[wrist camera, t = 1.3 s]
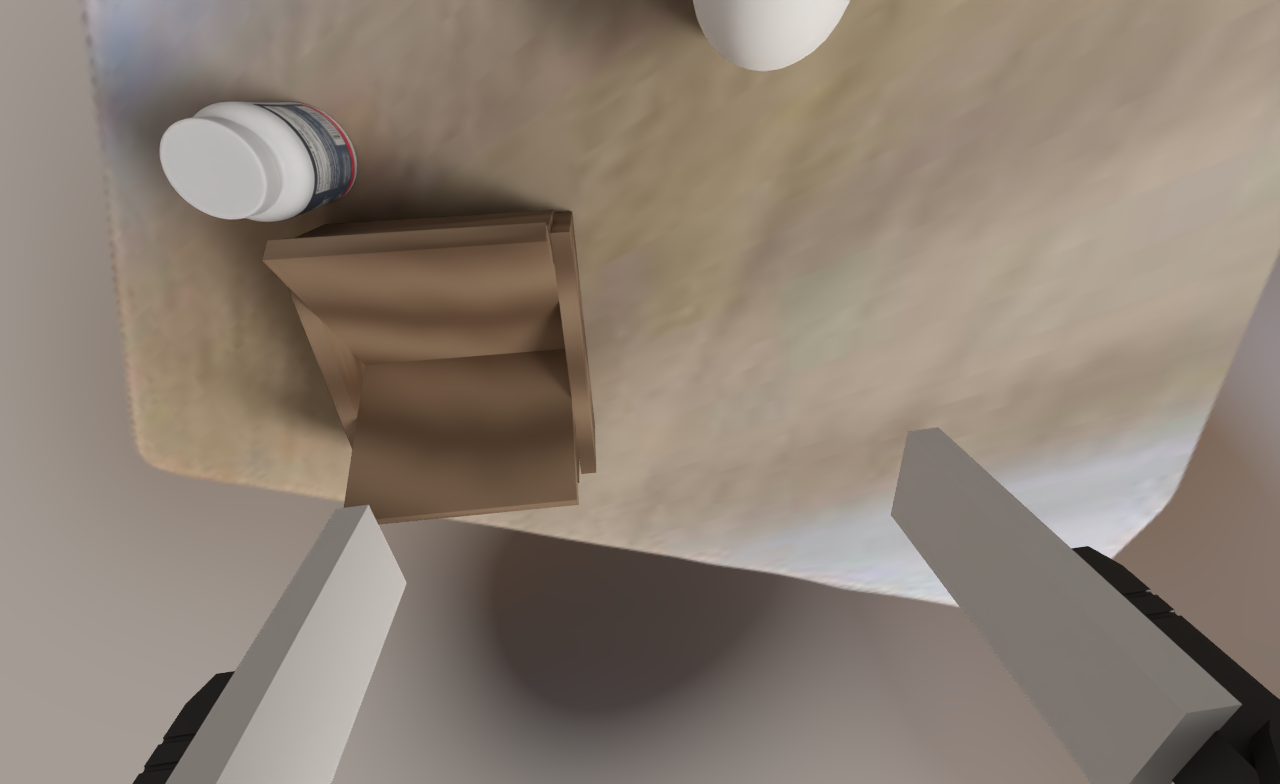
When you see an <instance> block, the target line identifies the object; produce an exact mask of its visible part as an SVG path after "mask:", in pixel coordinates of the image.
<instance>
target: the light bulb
mask: <svg viewBox="0 0 1280 784" xmlns="http://www.w3.org/2000/svg"><path fill="white" fill-rule="evenodd" d="M849 2H850V0H693V4H694V8H695V12H696V17H697V20H698V22H699V24H700V27H701V29H702V32H703V34H704V35H705V37H706V38H707V40H708V41H709V43H710V44H711V46H712V47H713V48H714V49H715V50H716V51H717V52H718V53H719V54H720V55H721V56H722V57H723V58H724V59H726V60H728V61H729V62H731V63H732V64H734V65H736V66H739V67H742V68H745V69H749V70H757V71H770V70H776V69H781V68H784V67H786V66H789V65H791V64H794V63H796V62H798V61H799V60H801V59H803V58H804V57H806V56H807V55H809V54H810V53H812V52H813V51H814V50H815V49H816V48H817V47H818V46H820V45H821V44H822V43H823V42H824V41H825V40H826V39H827V37H828V36H829V35H830V33H831V32H832V31H833V29H834V28H835V27H836V25H837V24H838V22H839V21H840V19H841V17H842V15H843V13H844V11H845V10H846V8H847V6H848V4H849Z"/></svg>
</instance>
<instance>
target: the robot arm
mask: <svg viewBox="0 0 1280 784" xmlns="http://www.w3.org/2000/svg"><path fill="white" fill-rule="evenodd" d="M891 516H892V517H893V518H894V520H895V521H896V522H897V524H898V525H899V526H900V528H901V529H902V530H903V532H904V533H905V534H906V536H907V537H908V538H909V540H910V541H911V542H912V544H913V545H914V546H915V548H916V549H917V550H918V552H919V553H920V554H921V556H922V557H923V558H924V560H925V561H926V562H927V564H928V565H929V566H930V568H931V569H932V570H933V572H934V573H935V574H936V576H937V577H938V578H939V580H940V581H941V582H942V584H943V585H944V587H945V588H946V589H947V591H948V592H949V593H950V595H951V596H952V597H953V599H954V600H955V601H956V603H957V604H958V605H959V607H960V608H961V609H962V610H963V612H964V613H965V615H966V616H967V617H968V619H969V620H970V621H971V623H972V624H973V625H974V627H975V628H976V629H977V631H978V632H979V633H980V635H981V636H982V637H983V639H984V640H985V641H986V643H987V644H988V645H989V647H990V648H991V649H992V651H993V652H994V653H995V655H996V656H997V658H998V659H999V660H1000V662H1001V663H1002V664H1003V665H1004V667H1005V668H1006V670H1007V671H1008V672H1009V674H1010V675H1011V676H1012V677H1013V679H1014V680H1015V682H1016V683H1017V684H1018V685H1019V687H1020V688H1021V690H1022V691H1023V692H1024V694H1026V696H1027V698H1028V699H1029V700H1030V702H1031V703H1032V704H1033V706H1034V707H1035V708H1036V710H1037V711H1038V712H1039V714H1040V715H1041V716H1042V718H1043V719H1044V720H1045V722H1046V723H1047V724H1048V726H1049V727H1050V728H1051V730H1052V731H1053V733H1054V734H1055V735H1056V737H1057V738H1058V739H1059V741H1060V742H1061V743H1062V745H1063V746H1064V747H1065V748H1066V750H1067V751H1068V753H1069V754H1070V755H1071V756H1072V758H1073V759H1074V761H1075V762H1076V763H1077V765H1078V766H1079V767H1080V769H1081V770H1082V771H1083V772H1084V774H1085V775H1086V777H1087V778H1088V779H1089V781H1090V782H1091V783H1092V784H1171V783H1172V782H1174V783H1175V784H1280V699H1278V698H1277V697H1276V696H1275V695H1273V694H1272V693H1271V692H1270V691H1269V690H1267V689H1266V688H1265V687H1264V686H1263V685H1262V684H1260V683H1259V682H1258V681H1257V680H1256V679H1255V678H1253V677H1252V676H1251V675H1250V674H1249V673H1248V672H1246V671H1245V670H1244V669H1243V668H1242V667H1240V666H1239V665H1238V664H1237V663H1236V662H1235V661H1233V660H1232V659H1231V658H1230V657H1229V656H1228V655H1227V654H1225V653H1224V652H1223V651H1222V650H1221V649H1220V648H1218V647H1217V646H1216V645H1215V644H1214V643H1213V642H1211V641H1210V640H1209V639H1208V638H1207V637H1205V636H1204V635H1203V634H1202V633H1201V632H1200V631H1198V630H1197V629H1196V628H1195V627H1194V626H1193V625H1191V624H1190V623H1189V622H1188V621H1186V619H1184V618H1183V617H1182V616H1178V615H1176V614H1175V610H1174V609H1173V608H1171V607H1170V606H1169V605H1168V604H1167V603H1166V602H1165V601H1163V600H1162V599H1161V598H1160V597H1159V596H1158V595H1153V594H1152V593H1151V589H1149V588H1148V587H1147V586H1146V585H1145V584H1143V583H1142V582H1141V581H1140V580H1139V579H1138V578H1137V577H1135V576H1134V575H1133V574H1132V573H1131V572H1130V571H1128V570H1127V569H1126V568H1125V567H1124V566H1122V565H1121V564H1119V563H1117V562H1115V561H1114V560H1112V559H1110V558H1108V557H1107V556H1105V555H1103V554H1101V553H1099V552H1098V551H1096V550H1094V549H1092V548H1090V547H1089V546H1086V547H1079V548H1072V549H1071V548H1070V547H1069V546H1068V545H1067V544H1066V543H1064V542H1063V541H1062V540H1061V539H1060V538H1059V537H1058V536H1057V535H1056V534H1055V533H1054V532H1052V531H1051V530H1050V529H1049V528H1048V527H1047V526H1046V525H1045V524H1044V523H1043V522H1041V521H1040V520H1039V519H1038V518H1037V517H1036V516H1035V515H1034V514H1033V513H1032V512H1030V511H1029V510H1028V509H1027V508H1026V507H1025V506H1024V505H1023V504H1022V503H1021V502H1020V501H1018V500H1017V499H1016V498H1015V497H1014V496H1013V495H1012V494H1011V493H1010V492H1009V491H1007V490H1006V489H1005V488H1004V487H1003V486H1002V485H1001V484H1000V483H999V482H998V481H996V480H995V479H994V478H993V477H992V476H991V475H990V474H989V473H988V472H987V471H986V470H984V469H983V468H982V467H981V466H980V465H979V464H978V463H977V462H976V461H975V460H973V459H972V458H971V457H970V456H969V455H968V454H967V453H966V452H965V451H964V450H962V449H961V448H960V447H959V446H958V445H957V444H956V443H955V442H954V441H953V440H952V439H950V438H949V437H948V436H947V435H946V434H945V433H944V432H943V431H942V430H941V429H939V428H930V429H923V430H915V431H908V434H907V438H906V443H905V448H904V453H903V458H902V463H901V468H900V473H899V478H898V482H897V487H896V492H895V497H894V502H893V507H892V512H891ZM405 586H406V581H405V579H404V577H403V575H402V573H401V570H400V568H399V566H398V564H397V562H396V560H395V558H394V556H393V554H392V552H391V550H390V548H389V546H388V544H387V542H386V539H385V537H384V535H383V533H382V531H381V529H380V527H379V525H378V523H377V521H376V519H375V517H374V515H373V513H372V511H371V509H370V506H369V505H362V506H354V507H347V508H340V509H336V510H335V511H334V513H333V515H332V516H331V518H330V519H329V521H328V523H327V524H326V526H325V527H324V529H323V531H322V532H321V534H320V535H319V537H318V539H317V540H316V542H315V544H314V545H313V547H312V548H311V550H310V552H309V553H308V555H307V556H306V558H305V560H304V561H303V563H302V565H301V566H300V568H299V569H298V571H297V573H296V574H295V576H294V577H293V579H292V581H291V582H290V584H289V585H288V587H287V589H286V590H285V592H284V593H283V595H282V597H281V598H280V600H279V601H278V603H277V605H276V606H275V608H274V609H273V611H272V613H271V614H270V616H269V618H268V619H267V621H266V622H265V624H264V626H263V627H262V629H261V630H260V632H259V634H258V635H257V637H256V639H255V640H254V642H253V643H252V645H251V647H250V648H249V650H248V651H247V653H246V655H245V656H244V658H243V659H242V661H241V663H240V664H239V666H238V667H237V669H236V671H233V672H226V673H220V674H216V675H215V676H214V677H213V678H212V679H211V680H210V681H209V682H208V683H207V684H206V685H205V686H204V687H203V688H202V689H201V690H200V691H199V692H197V693H196V694H195V695H194V696H193V697H192V698H191V699H190V700H189V701H188V702H187V703H186V705H185V706H184V708H183V709H182V710H181V712H180V713H179V715H178V716H177V718H176V719H175V721H174V722H173V724H172V725H171V727H170V729H169V730H168V732H167V733H166V735H165V736H164V737H163V739H164V741H163V743H162V744H160V745H158V746H157V748H156V749H155V751H154V752H153V754H152V755H151V757H150V758H149V760H148V761H147V763H146V764H145V766H144V767H145V770H144V772H143V773H141V774H139V775H138V776H137V778H136V779H135V781H134V782H133V784H331V782H332V780H333V777H334V774H335V772H336V769H337V766H338V763H339V761H340V758H341V756H342V753H343V750H344V748H345V745H346V742H347V740H348V737H349V734H350V731H351V729H352V726H353V724H354V721H355V718H356V716H357V713H358V710H359V708H360V705H361V703H362V700H363V697H364V695H365V692H366V689H367V686H368V684H369V681H370V679H371V676H372V673H373V671H374V668H375V665H376V663H377V660H378V657H379V655H380V651H381V649H382V647H383V644H384V642H385V639H386V636H387V634H388V631H389V628H390V626H391V623H392V620H393V617H394V615H395V612H396V610H397V607H398V604H399V602H400V599H401V596H402V594H403V591H404V588H405Z"/></svg>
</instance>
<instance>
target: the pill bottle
mask: <svg viewBox="0 0 1280 784" xmlns="http://www.w3.org/2000/svg"><path fill="white" fill-rule="evenodd" d="M159 151H160V161H161V164H162V168H163V171H164V173H165V175H166V177H167V179H168V180H169V182H170V184H171V185H172V186H173V188H174V189H175V190H176V191H177V192H178V193H179V195H180V196H181V197H182V198H183V199H185V200H186V201H187V202H188V203H189V204H191V205H192V206H194V207H195V208H197V209H198V210H200V211H202V212H204V213H206V214H209V215H211V216H214V217H218V218H222V219H230V220H232V219H243V218H247V219H250V220H255V221H261V222H274V221H281V220H286V219H289V218H292V217H295V216H297V215H300V214H303V213H305V212H308V211H311V210H313V209H316V208H319V207H321V206H324V205H327V204H329V203H332V202H334V201H337V200H339V199H340V198H342V197H343V196H345V195H346V194H347V193H348V192H349V191H350V189H351V188H352V186H353V184H354V182H355V179H356V175H357V159H356V154H355V151H354V148H353V145H352V143H351V141H350V139H349V137H348V136H347V134H346V133H345V131H344V130H343V129H342V128H341V126H340V125H339V124H338V123H337V122H336V121H335V120H334V119H333V118H331V117H330V116H329V115H327V114H326V113H324V112H323V111H321V110H319V109H317V108H315V107H312V106H310V105H306V104H302V103H296V102H275V103H255V102H233V101H232V102H220V103H215V104H211V105H209V106H207V107H205V108H203V109H201V110H200V111H199V112H197V113H196V114H195V115H194V116H193V118H186V119H183V120H180V121H177V122H175V123H174V124H172V125H171V126H170V127H169V128H168V129H167V130H166V131H165V132H164V134H163V136H162V139H161V142H160V149H159Z"/></svg>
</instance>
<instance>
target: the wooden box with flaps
mask: <svg viewBox="0 0 1280 784" xmlns="http://www.w3.org/2000/svg"><path fill="white" fill-rule="evenodd" d="M262 261H263V262H264V263H265V264H266V265H267V266H268V267H269V268H270V269H271V270H272V271H273V272H274V273H275V274H276V275H277V276H278V277H279V278H280V279H281V280H282V281H283V282H284V283H285V284H286V285H287V287H288V290H289V292H290V295H291V297H292V300H293V302H294V305H295V307H296V310H297V312H298V315H299V317H300V320H301V322H302V325H303V327H304V330H305V332H306V335H307V337H308V340H309V342H310V345H311V347H312V350H313V352H314V355H315V357H316V360H317V362H318V365H319V367H320V370H321V372H322V375H323V377H324V380H325V382H326V385H327V387H328V390H329V392H330V395H331V397H332V400H333V402H334V405H335V407H336V410H337V412H338V415H339V417H340V420H341V422H342V425H343V427H344V430H345V432H346V435H347V437H348V440H349V442H350V445H351V447H352V456H351V463H350V470H349V476H348V483H347V490H346V496H345V503H344V508H347V507H354V506H362V505H369V506H370V509H371V511H372V513H373V515H374V517H375V519H376V521H377V523H378V524H388V523H398V522H408V521H418V520H428V519H438V518H449V517H459V516H469V515H479V514H489V513H499V512H509V511H519V510H529V509H540V508H550V507H560V506H570V505H579V499H578V483H579V459H580V467H581V474H586V473H596V452H595V423H594V414H593V404H592V395H591V386H590V376H589V367H588V357H587V348H586V339H585V329H584V320H583V310H582V301H581V292H580V282H579V273H578V263H577V254H576V245H575V235H574V226H573V216H572V212H559V213H554V212H553V210H544V211H528V212H512V213H496V214H481V215H465V216H449V217H433V218H418V219H402V220H386V221H370V222H355V223H339V224H325V225H323V226H320V227H318V228H316V229H314V230H311V231H309V232H307V233H305V234H302V235H300V236H298V237H296V238H293V239H281V240H268V241H267V245H266V248H265V252H264V256H263V259H262Z"/></svg>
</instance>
